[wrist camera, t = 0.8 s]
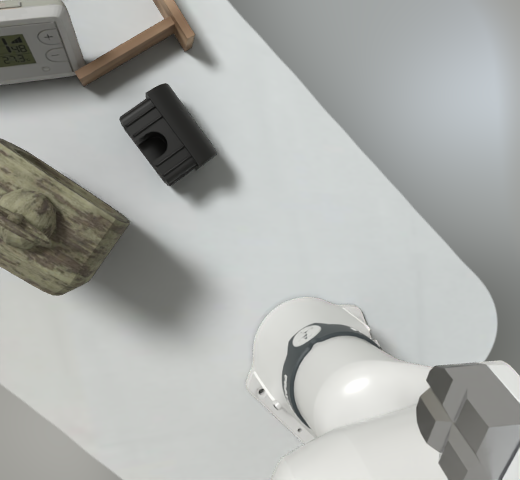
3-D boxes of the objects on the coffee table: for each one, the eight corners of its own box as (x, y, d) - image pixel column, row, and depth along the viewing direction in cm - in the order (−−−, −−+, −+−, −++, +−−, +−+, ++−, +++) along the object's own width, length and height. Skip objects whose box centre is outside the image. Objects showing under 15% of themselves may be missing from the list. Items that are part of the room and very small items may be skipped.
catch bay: (191, 47, 62) (194, 34, 57) (96, 104, 60) (90, 96, 55) (107, -89, 59) (103, -115, 54) (3, -33, 57) (-11, -55, 52)
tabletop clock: (133, 220, 62) (120, 230, 38) (91, 280, 61) (50, 330, 37) (29, 150, 59) (-58, 113, 35) (-16, 213, 58) (-137, 220, 34)
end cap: (214, 156, 64) (221, 151, 57) (169, 189, 63) (171, 187, 56) (166, 90, 62) (168, 77, 55) (119, 123, 61) (115, 113, 54)
